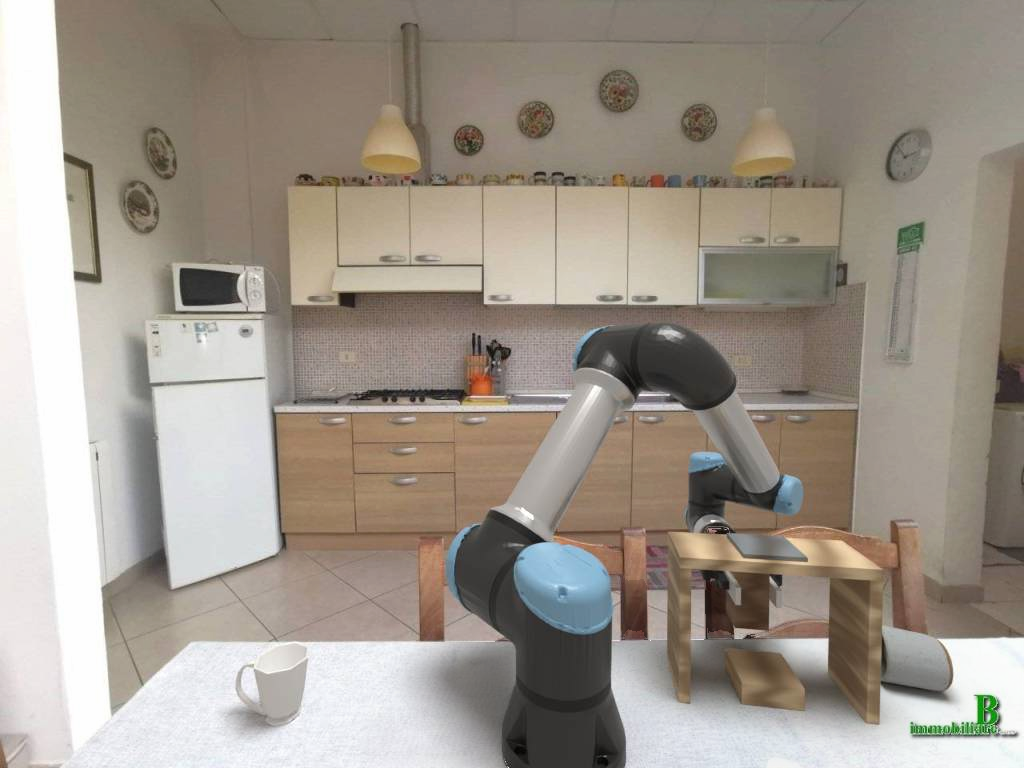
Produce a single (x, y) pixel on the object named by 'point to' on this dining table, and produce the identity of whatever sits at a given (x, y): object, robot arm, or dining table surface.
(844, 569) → the wooden side table
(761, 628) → the walnut block
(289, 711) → the cup
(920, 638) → the ceramic mug
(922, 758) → the dining table surface
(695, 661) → the dining table surface
